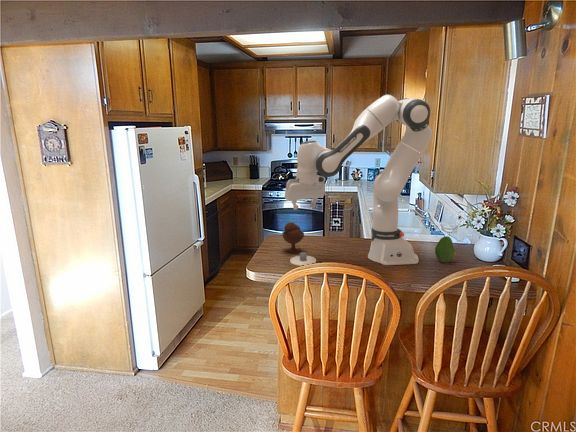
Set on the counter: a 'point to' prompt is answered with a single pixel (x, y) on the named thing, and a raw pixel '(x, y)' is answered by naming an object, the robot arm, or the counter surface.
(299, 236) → the ice cream bowl
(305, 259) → the lid
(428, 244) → the counter surface
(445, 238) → the avocado
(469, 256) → the counter surface
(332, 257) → the counter surface
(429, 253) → the counter surface
